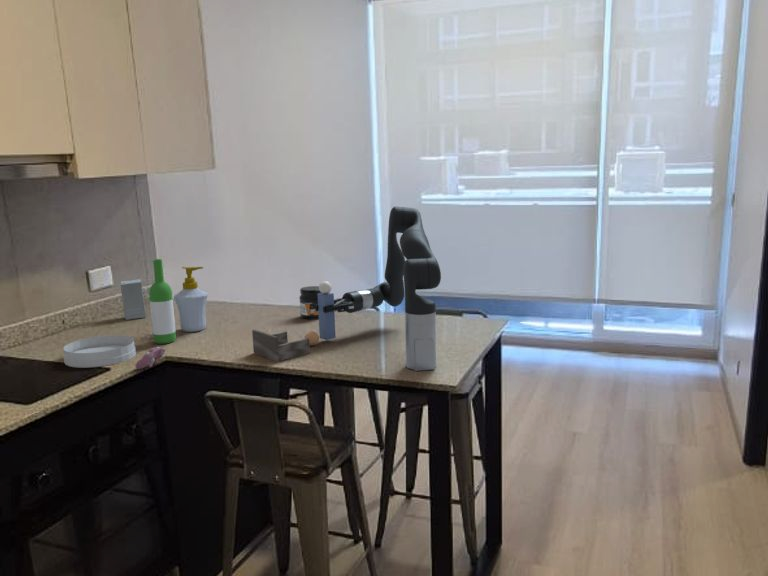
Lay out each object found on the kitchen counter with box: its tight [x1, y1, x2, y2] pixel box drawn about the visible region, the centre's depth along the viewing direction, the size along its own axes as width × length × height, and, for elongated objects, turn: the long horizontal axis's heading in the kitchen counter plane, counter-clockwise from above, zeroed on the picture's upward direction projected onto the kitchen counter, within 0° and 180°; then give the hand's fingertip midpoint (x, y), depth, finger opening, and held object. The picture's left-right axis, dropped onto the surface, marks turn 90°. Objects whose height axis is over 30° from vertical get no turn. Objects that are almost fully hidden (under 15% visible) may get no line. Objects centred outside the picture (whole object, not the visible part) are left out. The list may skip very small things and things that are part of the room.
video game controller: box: [135, 346, 166, 370], centre depth 204 cm, size 10×5×7 cm, turn 170°
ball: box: [304, 330, 320, 347], centre depth 222 cm, size 5×5×5 cm
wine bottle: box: [148, 258, 177, 345], centre depth 229 cm, size 8×8×30 cm
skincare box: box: [119, 279, 147, 321], centre depth 269 cm, size 8×7×16 cm
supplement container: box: [298, 285, 321, 320], centre depth 263 cm, size 10×10×12 cm
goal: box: [251, 329, 311, 363], centre depth 213 cm, size 13×14×8 cm
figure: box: [318, 280, 337, 341], centre depth 224 cm, size 4×4×20 cm
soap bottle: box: [173, 266, 209, 333], centre depth 246 cm, size 13×13×25 cm
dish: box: [62, 334, 137, 369], centre depth 214 cm, size 22×22×5 cm
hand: (319, 308), depth 222 cm, fingers closed on figure, 4 cm apart
